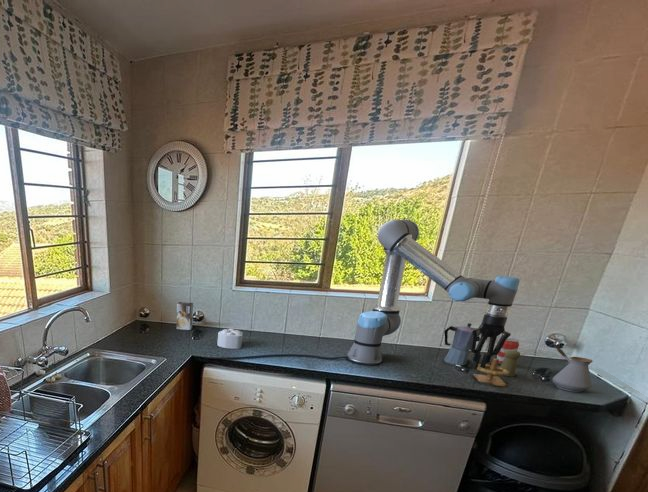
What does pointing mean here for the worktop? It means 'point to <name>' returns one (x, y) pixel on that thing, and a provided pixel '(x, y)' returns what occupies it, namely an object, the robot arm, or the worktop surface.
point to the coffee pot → (573, 374)
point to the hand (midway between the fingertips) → (478, 368)
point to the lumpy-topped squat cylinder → (230, 339)
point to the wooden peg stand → (490, 377)
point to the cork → (510, 361)
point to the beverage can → (507, 348)
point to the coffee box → (184, 315)
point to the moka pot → (459, 345)
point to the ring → (502, 371)
